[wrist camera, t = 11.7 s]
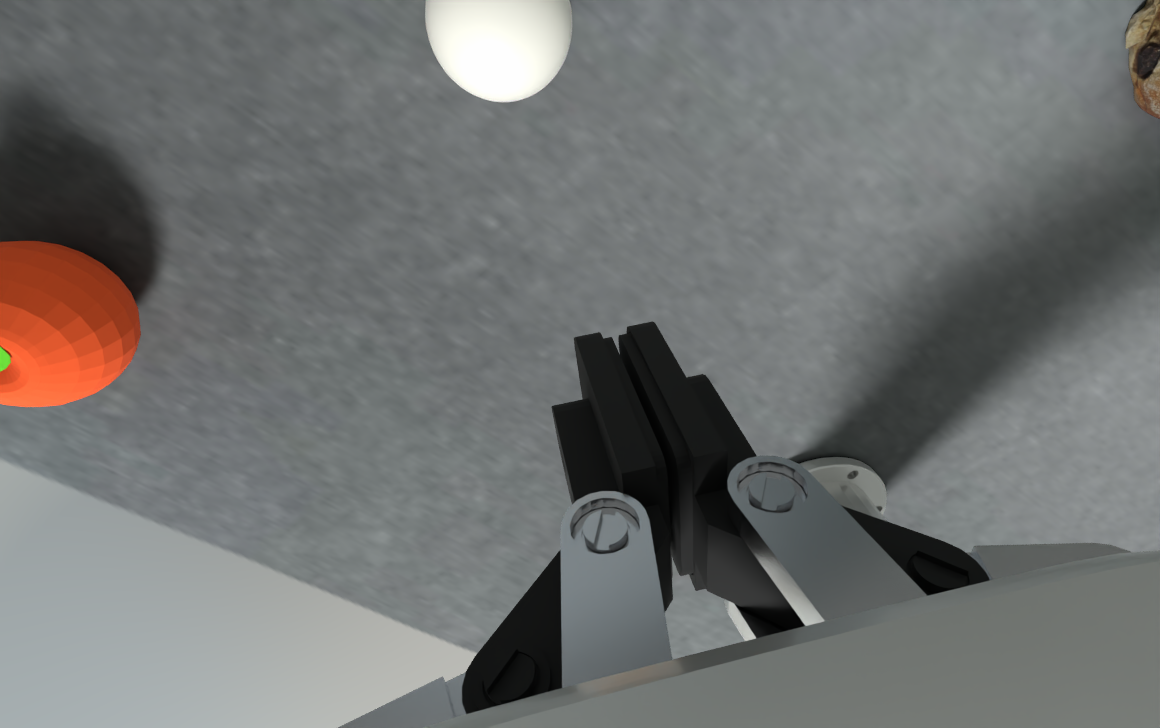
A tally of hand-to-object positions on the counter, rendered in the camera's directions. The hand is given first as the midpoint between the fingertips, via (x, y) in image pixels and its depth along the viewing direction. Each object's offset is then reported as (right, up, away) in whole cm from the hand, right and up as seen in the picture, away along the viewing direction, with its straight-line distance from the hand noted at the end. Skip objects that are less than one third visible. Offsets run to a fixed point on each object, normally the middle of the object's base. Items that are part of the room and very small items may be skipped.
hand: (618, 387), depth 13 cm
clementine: (-24, +5, +15) cm, 29 cm away
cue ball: (-4, +13, +10) cm, 17 cm away
